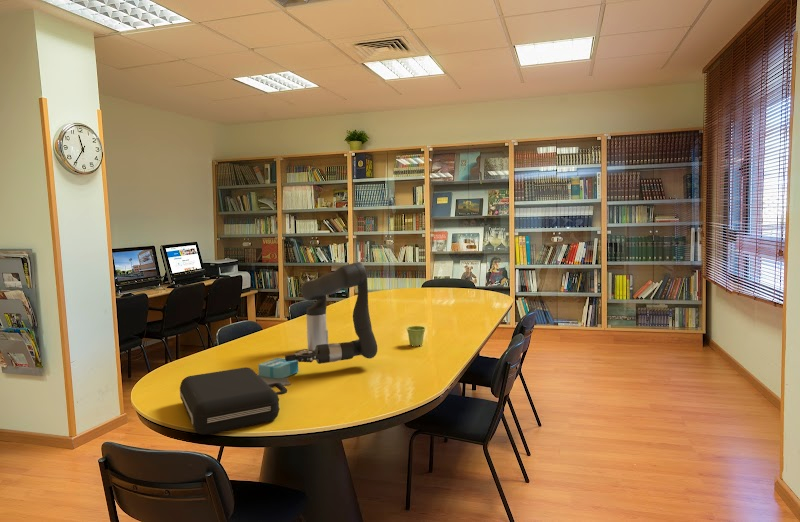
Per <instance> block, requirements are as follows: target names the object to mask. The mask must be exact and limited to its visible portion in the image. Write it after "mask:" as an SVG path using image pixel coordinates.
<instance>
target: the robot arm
mask: <svg viewBox="0 0 800 522" xmlns="http://www.w3.org/2000/svg"><path fill="white" fill-rule="evenodd" d="M366 269H367V268H366V267H365V265H364V264H363V263H362V262H361V261H356V262H353V263H348V264H346V265H342V266H340V267H339V268H337V269H336V270H335V271H330V272H328V273H325V274H322V276H320V277H317V278H316V279H313V280H306V281H305V282H303V285H302V286H301V296H302V297H303V299H304V300H306V301H315V303H313V304H312V305H311V306H309V307H307V308H306V310H305V311H306V312H305V313H306V334H307V335H306V336H307V349H305V348H303V349H301V350H298V351H295V352H294V353H293V354H285V355H284V359H285V360H286V361H294V360H296V361H298V363H312V362H314V361H316V363H317V364H319V365H320V364H328V363H329V364H330V363H335V362H338V361H346V360H347V361H348V360H351V359H353V358H354V357H357V356H362V357H363V358H365V359H373V358H374V357H376V355H377V354H378V344H377V340H376V337H375V335H374V332H373V328H372V327H373V326H372V323H371V317H370V311H369V287H368V275H367V270H366ZM353 287H357V297H356V301H355V304H354V307H353V308H354V309H352V310H353V311H352V321H353V327H354V332H355V334H356V336H357V337H358V339H355V340H352V341H347V342H345V341H344V342H339V343H338V342H334V343H333V342H331V343H329V330H328V329H327V297H328V296H329V295H330V296H331V295H333V294H336V293H338V292H339V291H341V290H342V289H350V288H353Z"/></svg>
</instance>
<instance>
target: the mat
mask: <svg viewBox="0 0 800 522" xmlns="http://www.w3.org/2000/svg"><path fill="white" fill-rule="evenodd" d="M257 375H258V376H259V374H257ZM259 377H260V378H261V379H262V380H263V381H264V382H266V383H267V384H273V383H281V384H282V385H283V386H284V387H286V386H291V382H290V380H289V379H288V378H287V377H285V378H283V379H274V378H268V377H262V376H259ZM271 388H272V389H273V387H271Z"/></svg>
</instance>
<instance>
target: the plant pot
mask: <svg viewBox="0 0 800 522" xmlns="http://www.w3.org/2000/svg"><path fill="white" fill-rule="evenodd" d="M406 331H407V334H408V340H409V341H408V342H409V346H411V345H413V346H417V347H419V345H422V344H423V343H424V336H425V331H426V327H425V326H421V325H411V326H408V327H406ZM422 346H423V345H422Z"/></svg>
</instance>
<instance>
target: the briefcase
mask: <svg viewBox="0 0 800 522" xmlns="http://www.w3.org/2000/svg"><path fill="white" fill-rule="evenodd" d="M258 375H259V374H257V373H256V372H255V371H254V369H252V368H251V367H245V366H244V367H239V368H232V369H227V370H221V371H220V370H219V371H214V372H207V373H200V374H194V375H188V376H186V377H184V378H183V379H182V381H180V386H179V397H180V399H181V401H182V404H183V406H184V408H185V410H186V413H187V415H188V417H189V420H190V422H191V425H192V427H193V429H194V431H195V432H196V433H197V434H199V435H201V436H207V435H212V434H215V433H221V432H226V431H227V432H228V431H231V430H236V429H240V428H245V427H246V428H247V427H250V426H255V425H261V424H265V423H269V422H270V423H271V422H273V421H275V419H277V417H278V416H279V412H280V398H279V395H281V396H283V395H285V394H287V393H288V388H286V386H283V385H282V384H281V383H273V384H267V383H266V382H264V381H263V380H262V379H261V378H260V377H259V376H258ZM271 387H272V388H271ZM273 388H277V389H278V390H279V391H275V390H274V389H273Z"/></svg>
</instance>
